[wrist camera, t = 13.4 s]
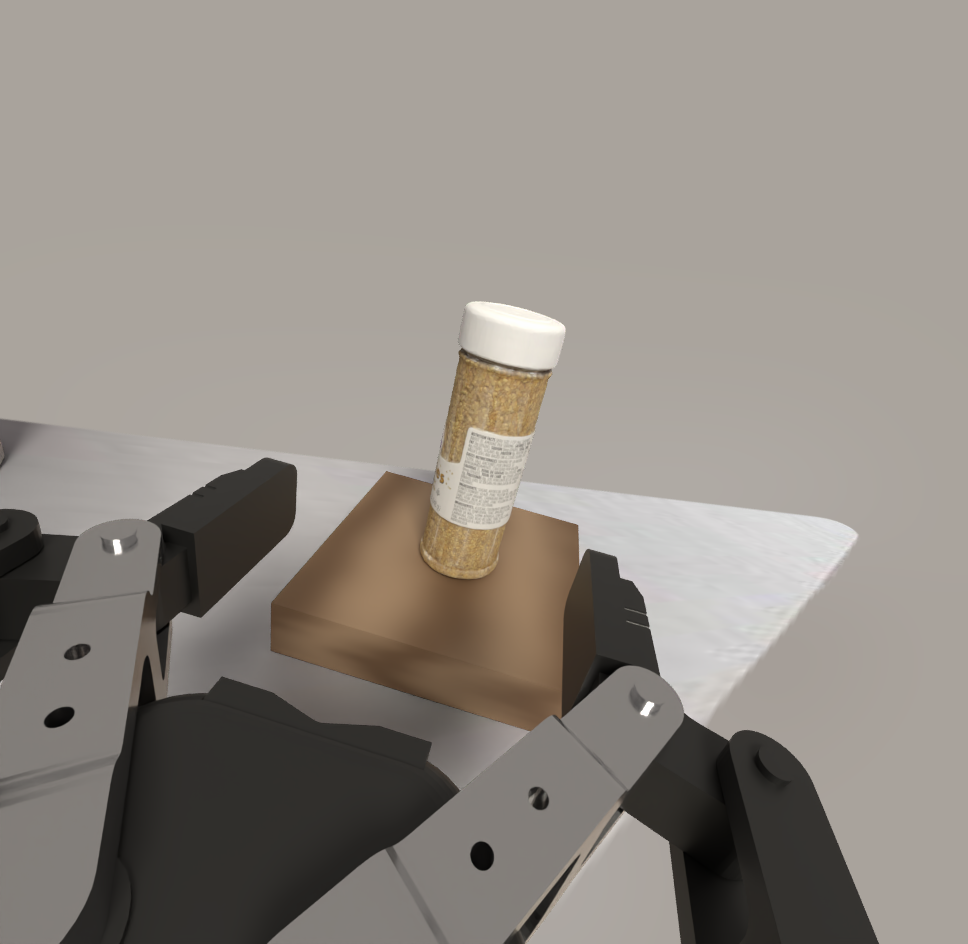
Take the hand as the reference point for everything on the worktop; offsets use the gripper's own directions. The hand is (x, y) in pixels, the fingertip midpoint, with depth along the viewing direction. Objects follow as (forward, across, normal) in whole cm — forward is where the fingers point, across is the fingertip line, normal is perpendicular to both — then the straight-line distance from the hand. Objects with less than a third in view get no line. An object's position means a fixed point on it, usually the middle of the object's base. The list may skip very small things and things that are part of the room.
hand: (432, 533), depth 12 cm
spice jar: (+11, 0, +9) cm, 14 cm away
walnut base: (+11, 0, +12) cm, 16 cm away
